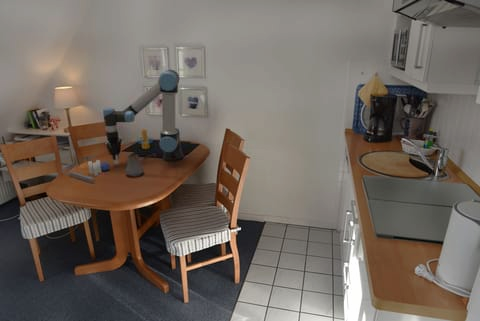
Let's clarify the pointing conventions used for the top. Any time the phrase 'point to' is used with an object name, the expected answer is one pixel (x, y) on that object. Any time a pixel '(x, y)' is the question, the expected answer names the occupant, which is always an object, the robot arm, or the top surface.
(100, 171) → the front pin
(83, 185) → the top surface
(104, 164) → the ball
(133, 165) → the coffee pot
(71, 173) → the grey long bar
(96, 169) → the back left pin
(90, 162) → the back right pin
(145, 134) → the yellow tall rounded piece
